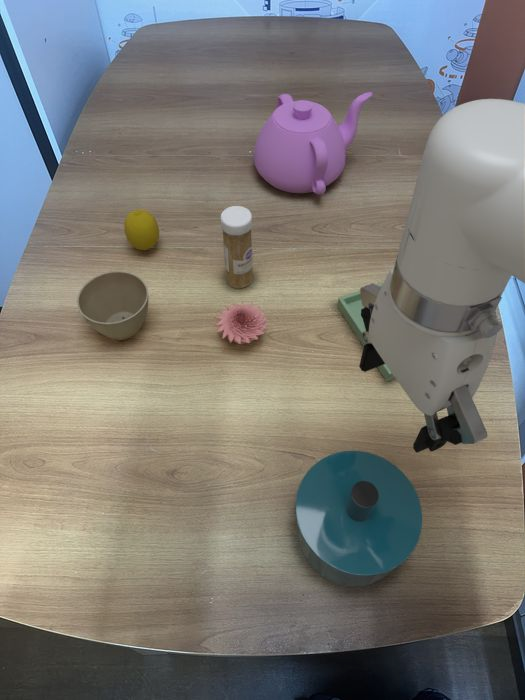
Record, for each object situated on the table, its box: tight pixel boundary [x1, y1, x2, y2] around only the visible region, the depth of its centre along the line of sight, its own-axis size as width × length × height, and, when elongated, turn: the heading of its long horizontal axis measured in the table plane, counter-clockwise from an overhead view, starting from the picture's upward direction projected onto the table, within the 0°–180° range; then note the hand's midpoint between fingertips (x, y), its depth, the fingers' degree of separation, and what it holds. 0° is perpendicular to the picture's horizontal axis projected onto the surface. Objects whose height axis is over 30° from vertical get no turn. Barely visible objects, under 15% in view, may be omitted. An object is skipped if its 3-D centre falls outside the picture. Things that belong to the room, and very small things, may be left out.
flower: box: [213, 300, 269, 345], centre depth 79 cm, size 8×8×6 cm
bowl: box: [76, 270, 149, 341], centre depth 80 cm, size 10×10×7 cm
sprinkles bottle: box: [220, 205, 254, 289], centre depth 83 cm, size 5×5×14 cm
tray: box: [336, 282, 396, 382], centre depth 81 cm, size 15×12×2 cm
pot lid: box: [295, 450, 423, 576], centre depth 57 cm, size 14×14×6 cm
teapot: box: [253, 91, 373, 195], centre depth 99 cm, size 22×22×14 cm
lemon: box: [123, 209, 160, 251], centre depth 89 cm, size 6×6×8 cm
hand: (399, 402), depth 52 cm, fingers open, 9 cm apart
